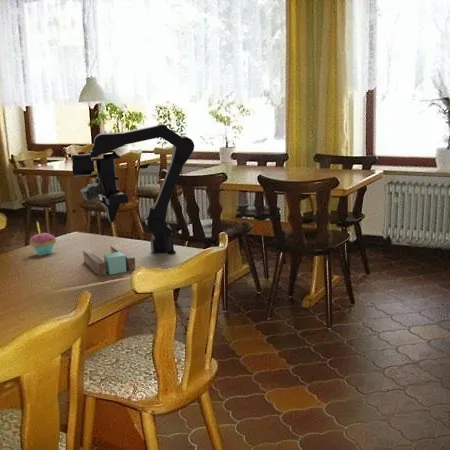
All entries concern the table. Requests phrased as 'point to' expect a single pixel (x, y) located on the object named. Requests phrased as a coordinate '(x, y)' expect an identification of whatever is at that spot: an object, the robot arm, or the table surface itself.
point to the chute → (99, 264)
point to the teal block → (115, 262)
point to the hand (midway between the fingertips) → (111, 222)
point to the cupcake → (42, 242)
